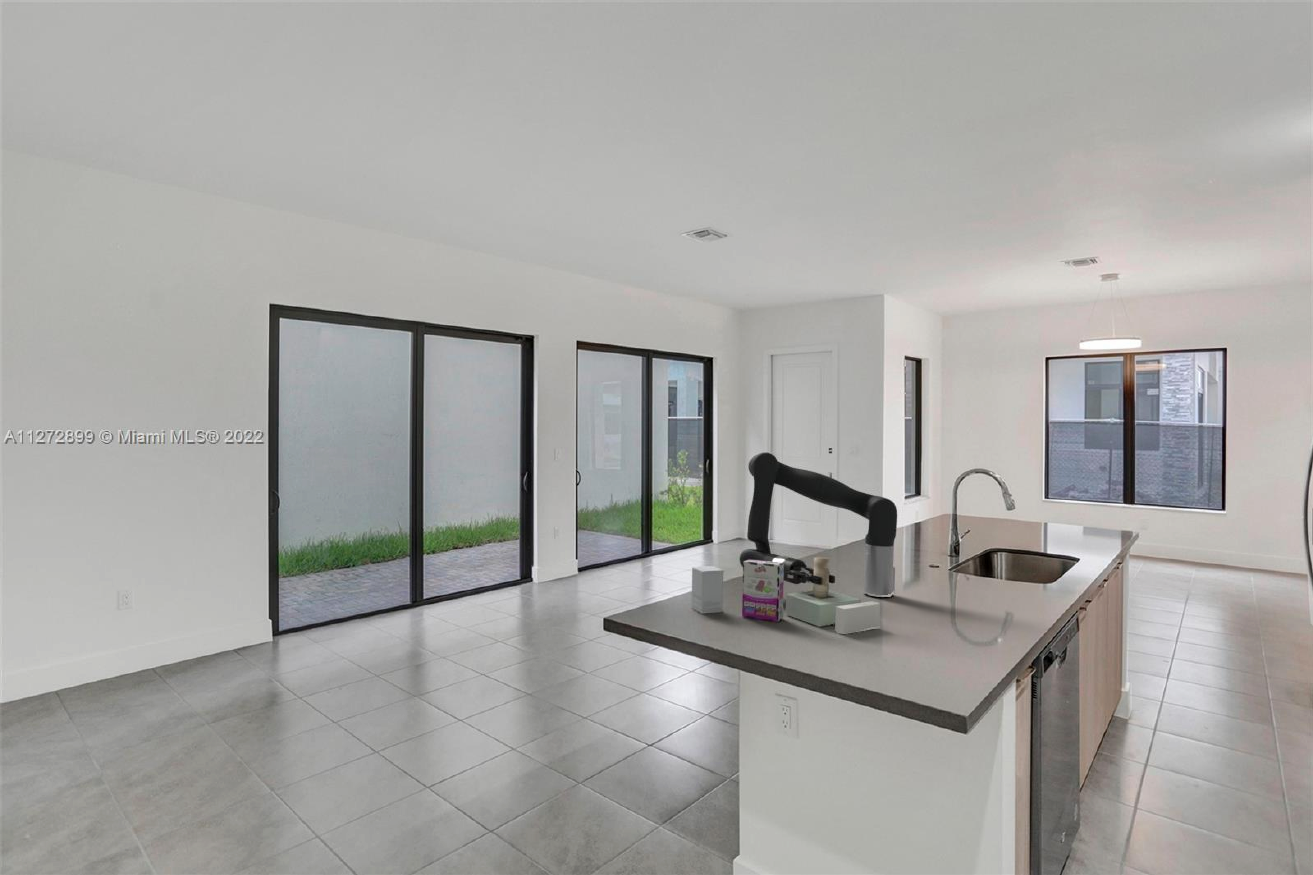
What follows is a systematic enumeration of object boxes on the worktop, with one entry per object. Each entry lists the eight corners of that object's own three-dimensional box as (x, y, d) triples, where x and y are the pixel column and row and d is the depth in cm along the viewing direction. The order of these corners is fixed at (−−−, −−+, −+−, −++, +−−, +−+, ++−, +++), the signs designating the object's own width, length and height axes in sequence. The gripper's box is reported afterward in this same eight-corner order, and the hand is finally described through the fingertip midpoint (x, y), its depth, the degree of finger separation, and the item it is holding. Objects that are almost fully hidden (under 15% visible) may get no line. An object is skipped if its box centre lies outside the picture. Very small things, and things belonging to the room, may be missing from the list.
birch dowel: (820, 603, 201) (821, 556, 201) (831, 606, 197) (832, 559, 197) (809, 604, 199) (810, 557, 199) (820, 608, 195) (821, 560, 195)
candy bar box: (783, 618, 196) (785, 562, 196) (778, 622, 191) (779, 565, 191) (747, 613, 201) (748, 558, 201) (741, 616, 196) (742, 560, 196)
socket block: (825, 608, 207) (826, 589, 207) (860, 619, 195) (860, 599, 195) (785, 614, 199) (786, 594, 199) (819, 626, 187) (819, 605, 187)
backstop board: (871, 625, 190) (871, 601, 190) (879, 628, 188) (880, 603, 188) (835, 632, 183) (835, 606, 183) (843, 635, 181) (844, 609, 181)
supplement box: (723, 612, 201) (724, 570, 201) (700, 614, 198) (702, 571, 198) (712, 606, 208) (713, 565, 208) (690, 607, 205) (691, 566, 205)
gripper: (771, 559, 207) (810, 569, 192) (805, 555, 214) (846, 565, 199) (770, 583, 207) (809, 596, 192) (805, 579, 214) (845, 591, 199)
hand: (827, 580), depth 196 cm, fingers closed on birch dowel, 4 cm apart
